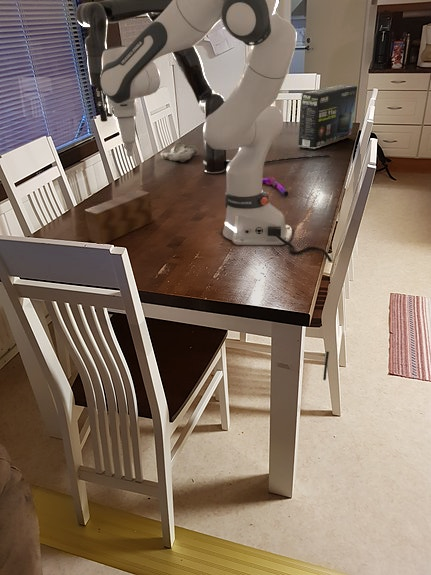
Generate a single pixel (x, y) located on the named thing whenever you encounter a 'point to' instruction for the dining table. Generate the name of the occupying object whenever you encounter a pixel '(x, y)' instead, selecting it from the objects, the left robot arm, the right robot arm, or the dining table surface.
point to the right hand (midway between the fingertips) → (128, 151)
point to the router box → (326, 115)
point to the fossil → (179, 152)
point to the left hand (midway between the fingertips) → (107, 118)
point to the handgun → (275, 184)
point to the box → (118, 216)
